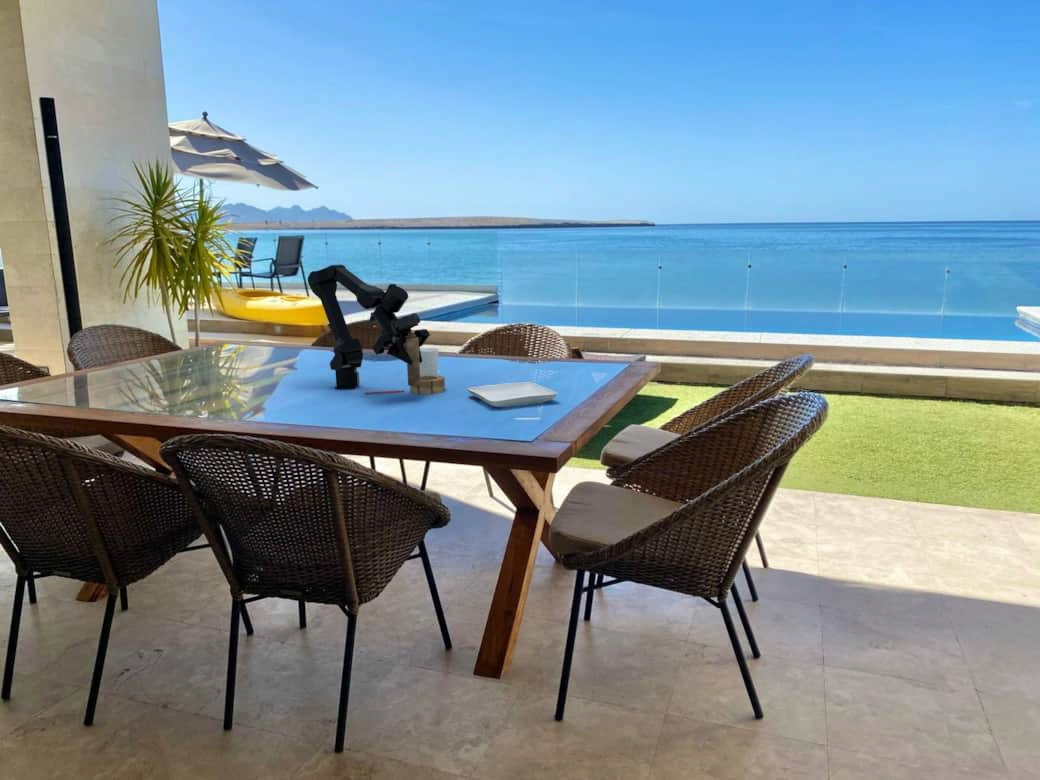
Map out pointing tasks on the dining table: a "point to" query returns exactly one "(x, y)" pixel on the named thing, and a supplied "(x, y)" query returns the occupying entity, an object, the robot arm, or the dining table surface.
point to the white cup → (429, 361)
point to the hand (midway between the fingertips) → (416, 363)
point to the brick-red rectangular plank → (385, 391)
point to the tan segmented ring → (429, 385)
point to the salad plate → (513, 394)
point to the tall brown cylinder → (413, 360)
